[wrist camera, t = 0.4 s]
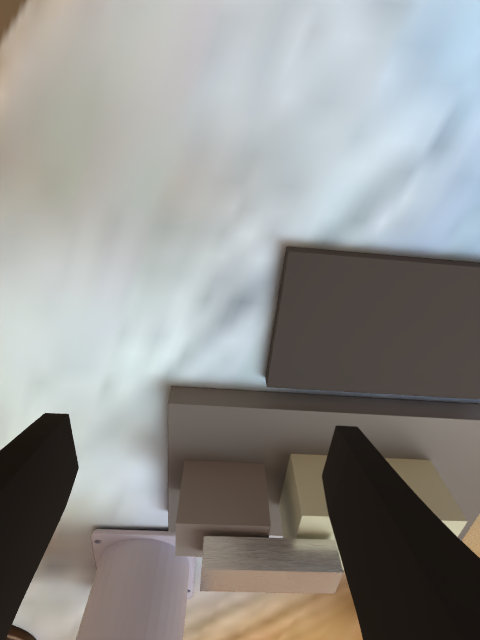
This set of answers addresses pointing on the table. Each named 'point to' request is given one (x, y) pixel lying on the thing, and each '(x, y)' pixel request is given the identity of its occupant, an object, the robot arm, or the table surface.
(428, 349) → the mat
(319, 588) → the bar
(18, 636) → the candlestick
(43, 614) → the table surface
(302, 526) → the cream rectangular block
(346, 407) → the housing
